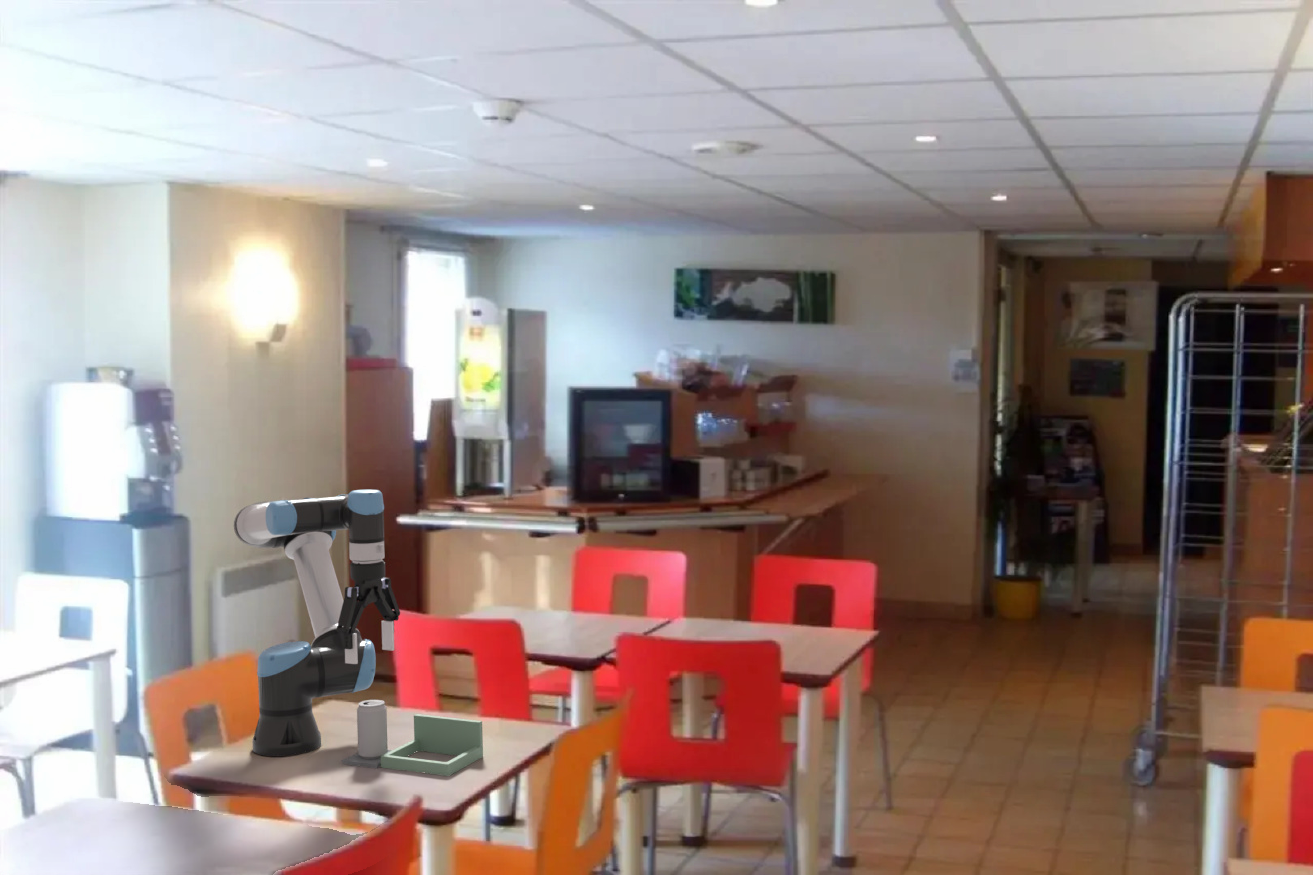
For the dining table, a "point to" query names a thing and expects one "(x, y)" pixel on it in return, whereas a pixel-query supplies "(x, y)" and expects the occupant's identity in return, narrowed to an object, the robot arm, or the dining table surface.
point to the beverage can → (372, 729)
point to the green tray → (438, 745)
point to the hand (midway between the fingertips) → (370, 656)
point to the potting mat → (362, 761)
